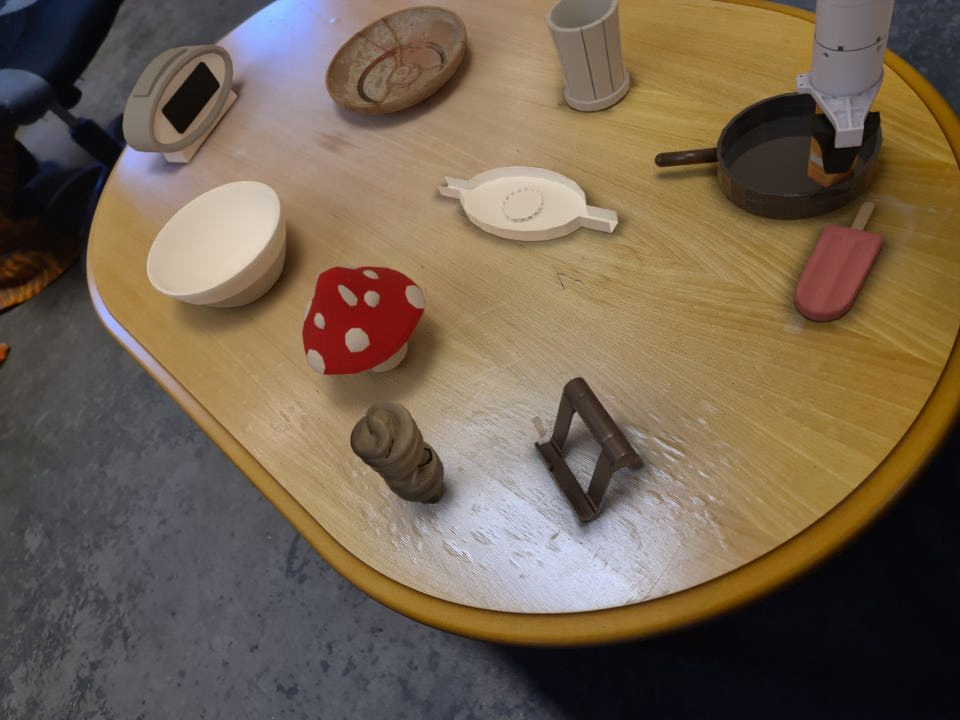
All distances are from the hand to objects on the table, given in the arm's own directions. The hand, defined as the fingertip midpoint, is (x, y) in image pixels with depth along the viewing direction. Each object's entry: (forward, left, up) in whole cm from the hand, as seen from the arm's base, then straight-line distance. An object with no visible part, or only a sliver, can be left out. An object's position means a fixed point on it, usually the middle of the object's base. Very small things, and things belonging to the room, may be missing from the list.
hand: (835, 153), depth 69 cm
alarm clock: (+97, -26, -5) cm, 101 cm away
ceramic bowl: (+59, -31, -5) cm, 67 cm away
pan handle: (+14, -4, -3) cm, 15 cm away
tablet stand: (+21, +33, -5) cm, 40 cm away
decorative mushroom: (+46, +21, -5) cm, 51 cm away
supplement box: (0, 0, -3) cm, 3 cm away
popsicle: (0, +10, -5) cm, 11 cm away
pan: (+3, -4, -5) cm, 7 cm away
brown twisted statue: (+36, +37, -5) cm, 52 cm away
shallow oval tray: (+34, -1, -5) cm, 34 cm away
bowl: (+72, +8, -5) cm, 73 cm away
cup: (+28, -22, -5) cm, 36 cm away
